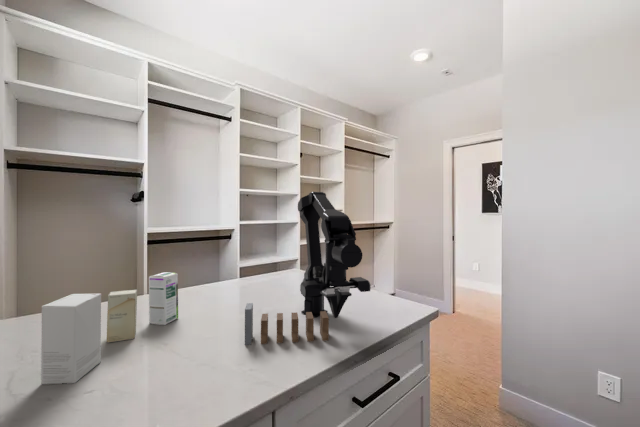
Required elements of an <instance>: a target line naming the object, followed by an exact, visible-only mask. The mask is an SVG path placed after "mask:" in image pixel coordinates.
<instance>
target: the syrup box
mask: <svg viewBox="0 0 640 427" xmlns="http://www.w3.org/2000/svg"><path fill="white" fill-rule="evenodd" d="M148 309H149V310H148V315H149V316H148V321H149V324H150V325H151V324H152V325H160V326H166V325H168V324H169V323H171V322H174V321H175V320H177V319H179V274H178V273H177V272H172V271H171V272H170V271H168V272H167V271H166V272H165V271H164V272H161V273H160V272H159V273H157V274H154V275H149V276H148Z"/></svg>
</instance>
